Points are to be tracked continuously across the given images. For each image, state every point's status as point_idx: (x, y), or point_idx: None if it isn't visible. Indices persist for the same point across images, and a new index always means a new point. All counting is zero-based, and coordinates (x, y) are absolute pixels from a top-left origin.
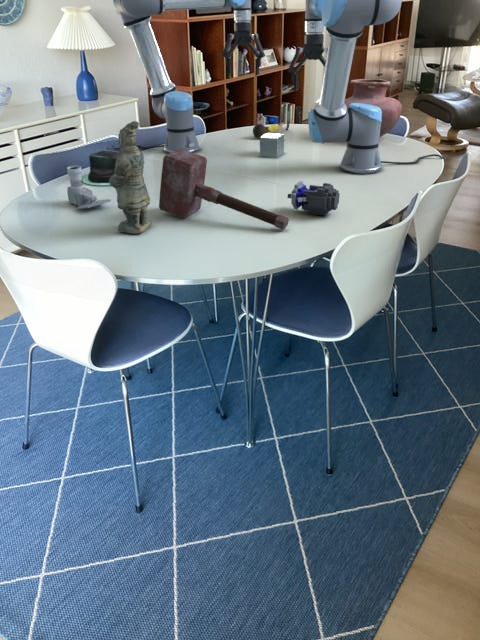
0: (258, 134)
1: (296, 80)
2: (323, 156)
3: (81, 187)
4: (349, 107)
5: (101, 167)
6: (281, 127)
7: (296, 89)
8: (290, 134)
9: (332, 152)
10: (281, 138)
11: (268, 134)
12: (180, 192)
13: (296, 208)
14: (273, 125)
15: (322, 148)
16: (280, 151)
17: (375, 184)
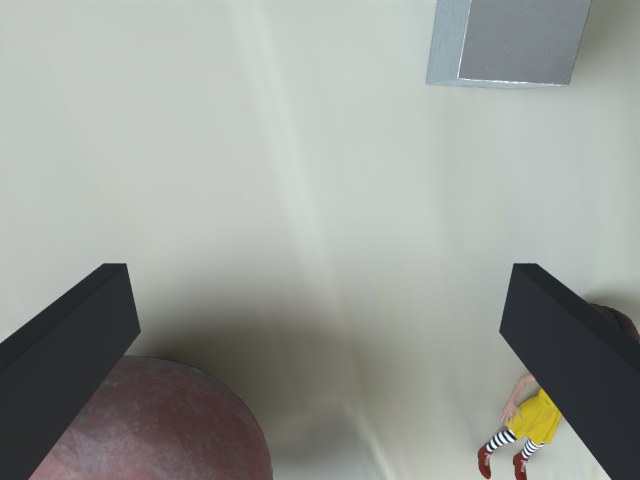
0: (595, 305)
1: (599, 368)
2: (229, 82)
3: None
4: (137, 436)
5: None
6: (506, 435)
7: (519, 302)
8: (457, 405)
9: (214, 169)
10: (460, 25)
11: (557, 39)
12: None
13: None
14: (545, 430)
15: (276, 226)
16: (440, 23)
17: None
